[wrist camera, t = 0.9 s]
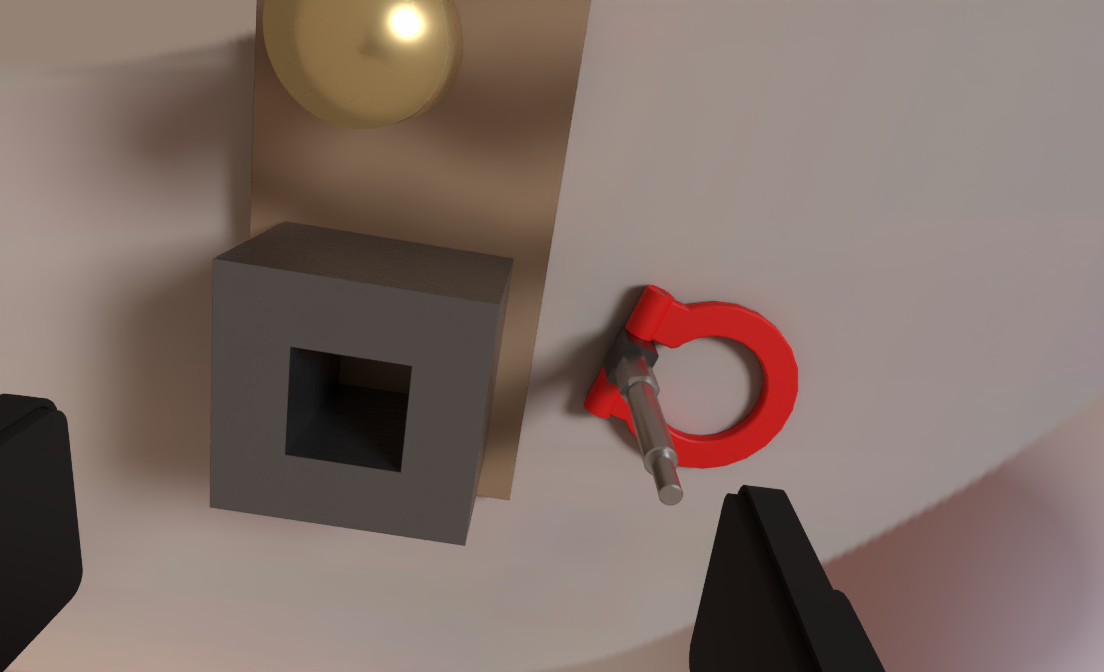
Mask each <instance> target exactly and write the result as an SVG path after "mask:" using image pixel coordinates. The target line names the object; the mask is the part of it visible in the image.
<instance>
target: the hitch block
mask: <svg viewBox="0 0 1104 672" xmlns="http://www.w3.org/2000/svg"><path fill="white" fill-rule="evenodd" d="M513 262H514V258H508V257H502V256H496V255H490V254H484V253H478V252H472V251H466V250H459V249H453V248H447V247H441V246H435V245H429V244H423V243H416V242H410V241H404V240H398V239H392V238H386V237H380V236H373V235H367V234H361V233H355V232H349V231H343V230H337V229H330V228H324V227H318V226H312V225H306V224H300V223H294V222H287V221H284V222H283V223H281V224H279V225H277V226H275V227H273V228H271V229H269V230H267V231H265V232H263V233H261V234H260V235H258V236H256V237H254V238H252V239H250V240H248V241H246V242H244V243H242V244H240V245H239V246H237V247H235V248H233V249H231V250H229V251H227V252H225V253H223V254H221V255H219V256H217V257H216V258H214V259H213V306H212V381H211V455H210V507H211V508H218V509H225V510H231V511H238V512H244V513H251V514H258V515H264V516H271V517H278V518H284V519H291V520H297V521H304V522H311V523H317V524H324V525H331V526H337V527H344V528H350V529H357V530H364V531H370V532H377V533H384V534H390V535H397V536H403V537H410V538H417V539H423V540H430V541H437V542H443V543H450V544H457V545H463V546H465V543H466V539H467V534H468V530H469V526H470V521H471V517H472V512H473V508H474V503H475V499H476V494H477V490H478V485H479V481H480V476H481V472H482V467H483V463H484V458H485V451H486V444H487V437H488V431H489V424H490V417H491V410H492V404H493V397H494V390H495V383H496V377H497V370H498V363H499V356H500V350H501V343H502V336H503V329H504V322H505V316H506V309H507V302H508V295H509V289H510V282H511V275H512V268H513ZM341 355H346V356H352V357H359V358H365V359H371V360H378V361H384V362H390V363H397V364H403V365H409V366H412V373H411V382H410V392H409V394H405V393H399V392H392V391H386V390H380V389H373V388H367V387H360V386H354V385H348V384H341V383H339V370H340V356H341Z"/></svg>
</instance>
